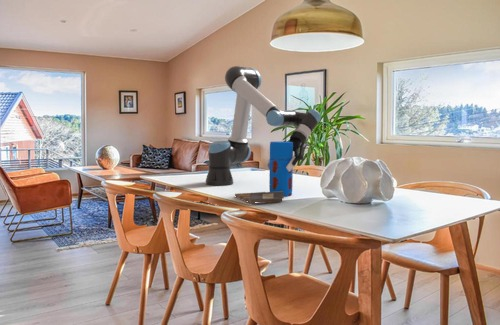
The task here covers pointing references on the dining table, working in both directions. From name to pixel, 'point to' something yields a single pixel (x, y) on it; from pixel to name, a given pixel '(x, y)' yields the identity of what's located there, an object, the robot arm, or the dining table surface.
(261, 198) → the shelf board
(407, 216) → the dining table surface
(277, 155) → the blue tall block
